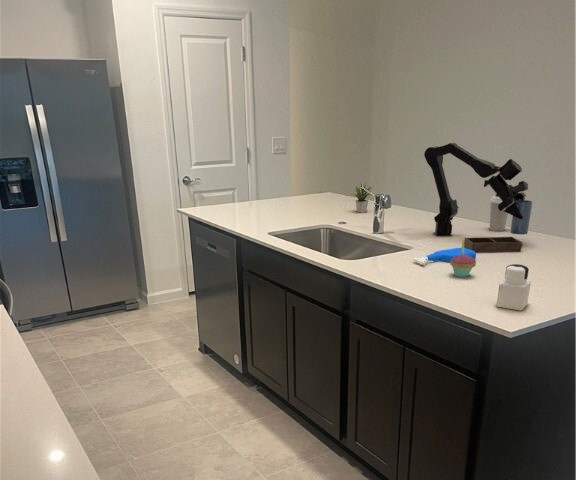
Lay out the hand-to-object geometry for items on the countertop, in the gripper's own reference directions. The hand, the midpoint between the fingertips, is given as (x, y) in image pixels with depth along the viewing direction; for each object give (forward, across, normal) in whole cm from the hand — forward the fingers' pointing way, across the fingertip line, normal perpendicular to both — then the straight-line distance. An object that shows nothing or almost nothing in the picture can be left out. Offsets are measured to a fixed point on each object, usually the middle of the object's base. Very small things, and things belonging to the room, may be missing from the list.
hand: (524, 217), depth 226 cm
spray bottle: (-3, -43, +19) cm, 47 cm away
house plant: (-59, +31, +76) cm, 101 cm away
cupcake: (+6, -58, +10) cm, 59 cm away
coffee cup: (-4, +24, +21) cm, 32 cm away
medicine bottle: (+23, -79, -7) cm, 83 cm away
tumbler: (+4, 0, +6) cm, 7 cm away
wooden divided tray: (+3, -15, +13) cm, 20 cm away
